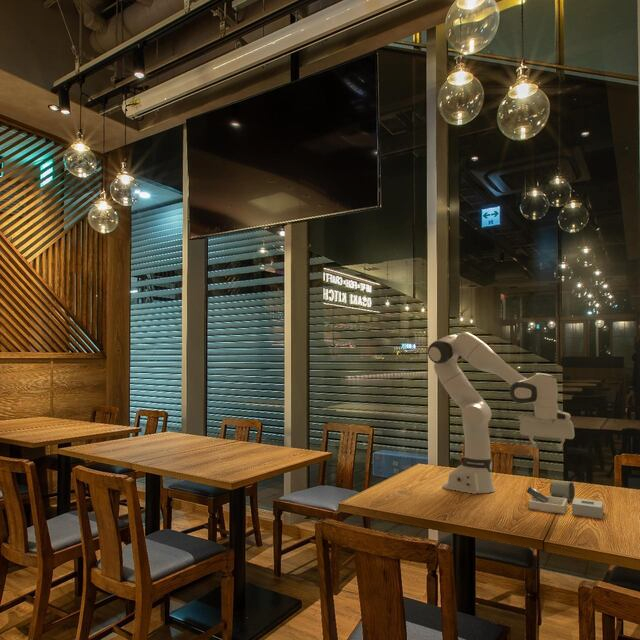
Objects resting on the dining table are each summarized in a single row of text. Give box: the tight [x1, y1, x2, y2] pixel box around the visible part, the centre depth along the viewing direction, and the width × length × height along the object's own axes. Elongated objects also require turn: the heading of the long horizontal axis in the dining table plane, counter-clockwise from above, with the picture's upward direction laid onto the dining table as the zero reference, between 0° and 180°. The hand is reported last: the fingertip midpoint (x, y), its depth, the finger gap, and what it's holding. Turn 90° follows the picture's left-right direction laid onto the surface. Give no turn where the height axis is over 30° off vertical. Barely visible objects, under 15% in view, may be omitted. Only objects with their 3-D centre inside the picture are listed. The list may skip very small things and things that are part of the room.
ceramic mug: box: [549, 480, 576, 502], centre depth 218 cm, size 11×8×8 cm
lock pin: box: [526, 485, 549, 503], centre depth 209 cm, size 3×3×8 cm
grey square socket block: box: [571, 497, 604, 520], centre depth 199 cm, size 10×10×4 cm
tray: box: [528, 495, 569, 515], centre depth 206 cm, size 13×13×3 cm
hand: (546, 448), depth 208 cm, fingers open, 8 cm apart
